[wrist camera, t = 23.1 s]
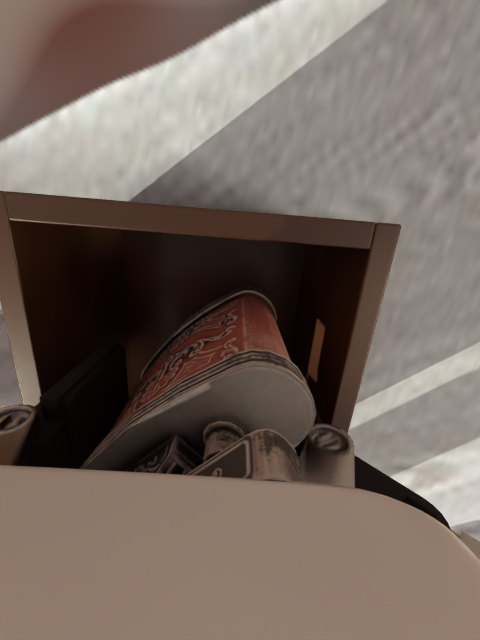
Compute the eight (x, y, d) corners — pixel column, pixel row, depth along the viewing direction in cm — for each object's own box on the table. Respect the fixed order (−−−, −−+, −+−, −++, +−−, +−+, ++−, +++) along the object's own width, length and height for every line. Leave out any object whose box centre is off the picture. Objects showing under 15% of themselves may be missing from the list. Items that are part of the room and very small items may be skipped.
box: (113, 211, 16) (-26, 188, 8) (318, 228, 16) (402, 224, 8) (129, 431, 21) (58, 561, 13) (283, 440, 21) (311, 573, 13)
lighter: (175, 404, 15) (71, 706, 6) (131, 365, 14) (-80, 646, 5) (288, 321, 13) (410, 555, 4) (246, 269, 12) (273, 416, 3)
